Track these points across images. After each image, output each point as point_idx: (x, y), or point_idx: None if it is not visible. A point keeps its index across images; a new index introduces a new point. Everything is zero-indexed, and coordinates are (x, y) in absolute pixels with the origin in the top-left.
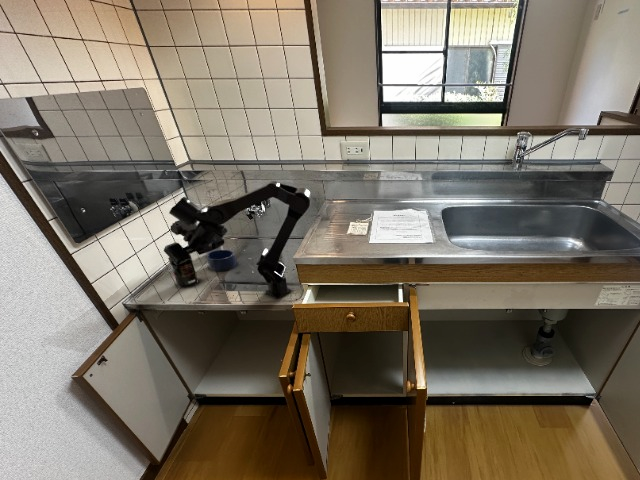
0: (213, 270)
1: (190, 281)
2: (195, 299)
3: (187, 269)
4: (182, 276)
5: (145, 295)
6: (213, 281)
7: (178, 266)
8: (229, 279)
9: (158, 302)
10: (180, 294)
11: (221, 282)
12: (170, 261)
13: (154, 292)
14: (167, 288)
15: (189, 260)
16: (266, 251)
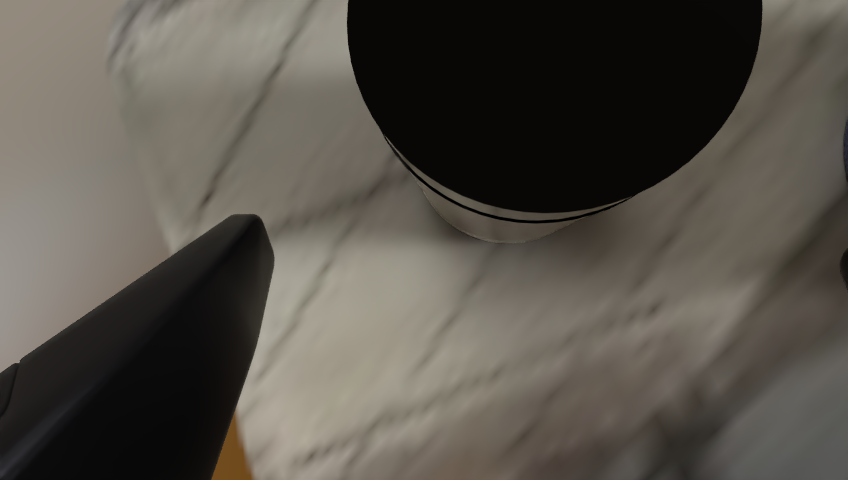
0: (844, 151)
1: (473, 235)
2: (310, 453)
3: (485, 222)
4: (422, 190)
5: (206, 28)
6: (645, 341)
7: (396, 153)
8: (757, 461)
9: (164, 216)
10: (325, 265)
11: (664, 432)
12: (355, 5)
13: (267, 44)
14: None
15: (580, 215)
16: None
